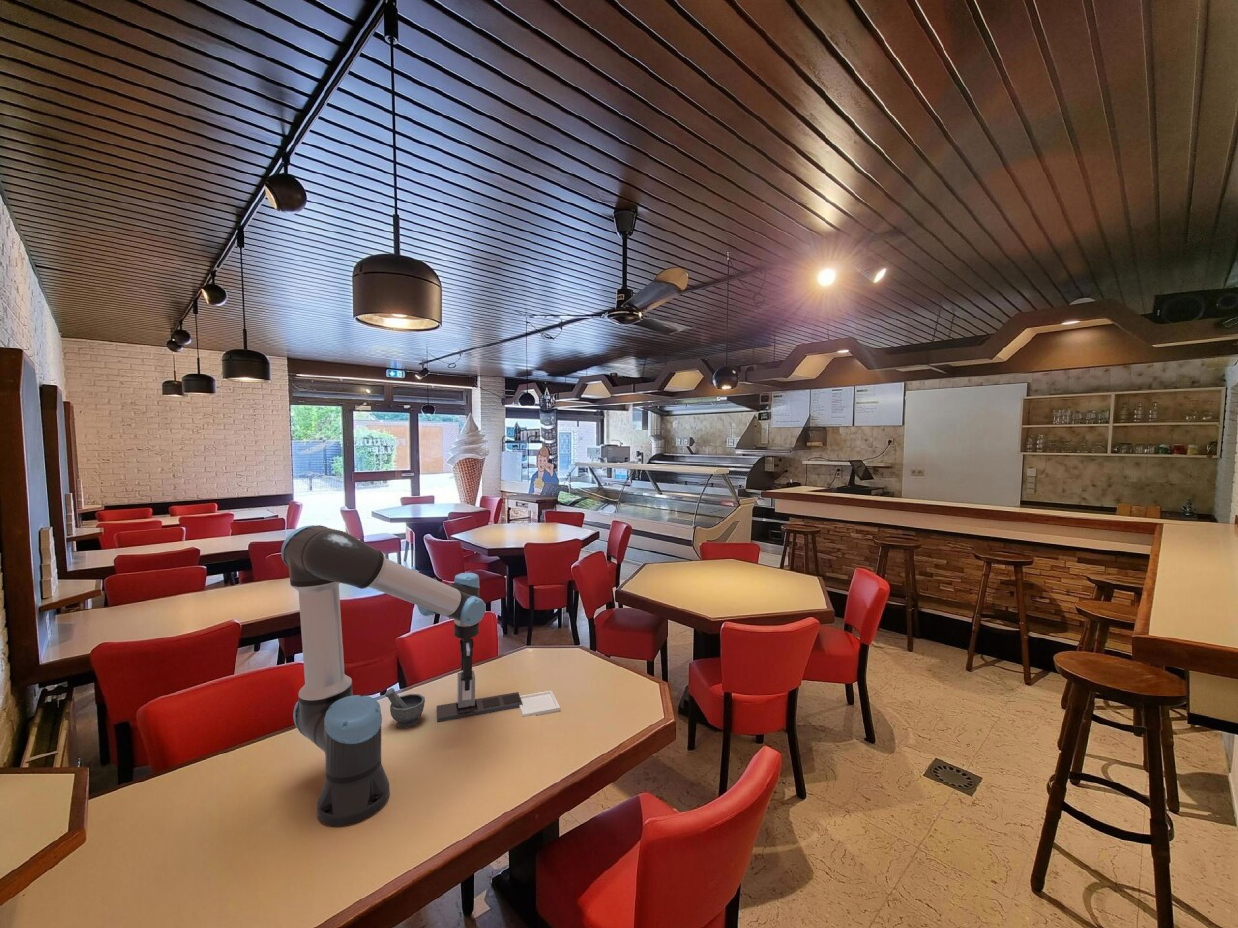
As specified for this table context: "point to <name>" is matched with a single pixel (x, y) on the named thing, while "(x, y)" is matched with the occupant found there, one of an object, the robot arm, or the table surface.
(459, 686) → the gray rectangular block
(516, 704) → the rack rail
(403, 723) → the mortar and pestle
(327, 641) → the robot arm
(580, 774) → the table surface
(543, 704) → the parts tray
